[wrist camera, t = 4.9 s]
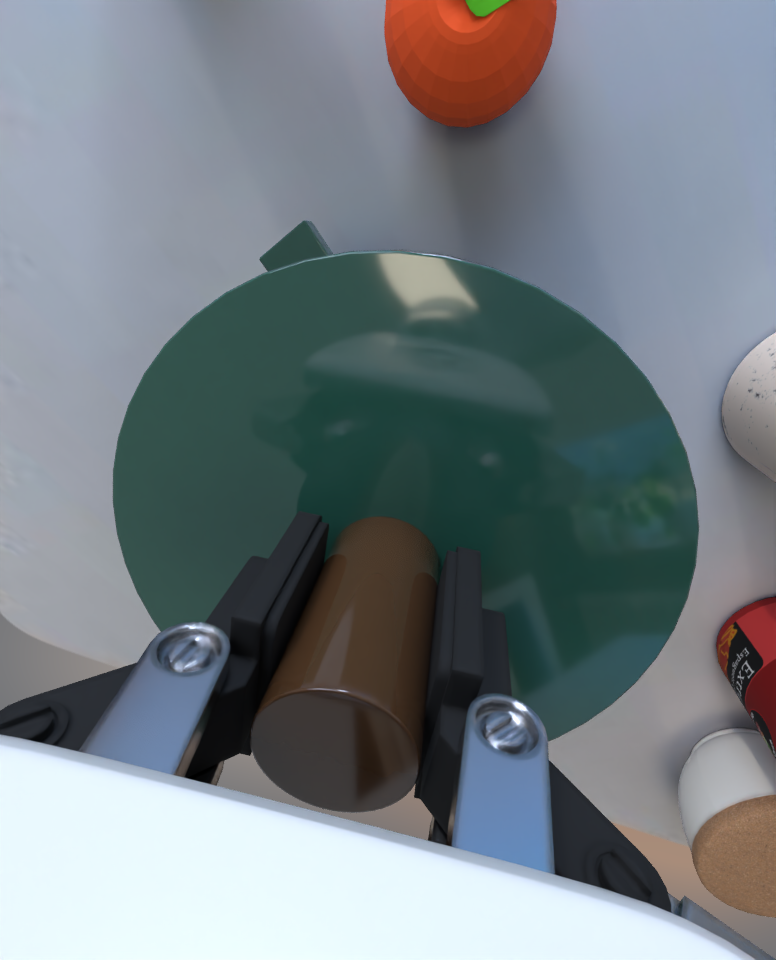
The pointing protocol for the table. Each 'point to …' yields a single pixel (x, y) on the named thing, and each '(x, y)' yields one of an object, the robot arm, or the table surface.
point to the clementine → (467, 54)
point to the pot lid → (408, 497)
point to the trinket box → (732, 818)
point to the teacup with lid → (753, 408)
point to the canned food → (753, 663)
